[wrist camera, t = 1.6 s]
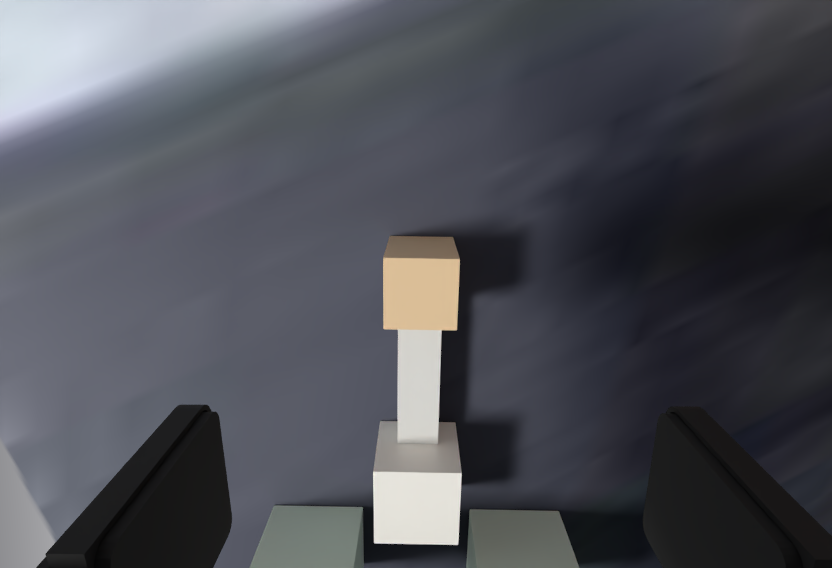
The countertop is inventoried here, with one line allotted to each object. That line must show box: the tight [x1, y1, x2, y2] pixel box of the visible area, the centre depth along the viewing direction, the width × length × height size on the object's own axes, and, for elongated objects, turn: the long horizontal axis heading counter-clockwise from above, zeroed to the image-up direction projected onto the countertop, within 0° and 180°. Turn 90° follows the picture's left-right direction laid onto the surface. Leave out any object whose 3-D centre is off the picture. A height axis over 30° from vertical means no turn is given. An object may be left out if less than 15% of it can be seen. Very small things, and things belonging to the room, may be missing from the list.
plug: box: [373, 236, 462, 545], centre depth 24 cm, size 14×4×4 cm, turn 179°
